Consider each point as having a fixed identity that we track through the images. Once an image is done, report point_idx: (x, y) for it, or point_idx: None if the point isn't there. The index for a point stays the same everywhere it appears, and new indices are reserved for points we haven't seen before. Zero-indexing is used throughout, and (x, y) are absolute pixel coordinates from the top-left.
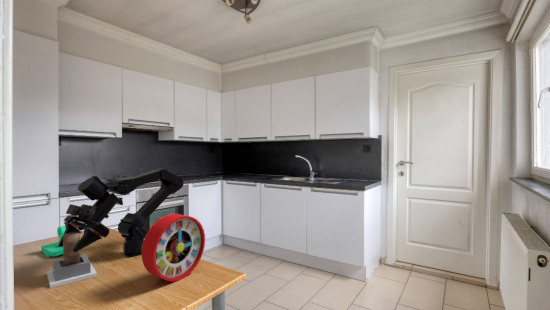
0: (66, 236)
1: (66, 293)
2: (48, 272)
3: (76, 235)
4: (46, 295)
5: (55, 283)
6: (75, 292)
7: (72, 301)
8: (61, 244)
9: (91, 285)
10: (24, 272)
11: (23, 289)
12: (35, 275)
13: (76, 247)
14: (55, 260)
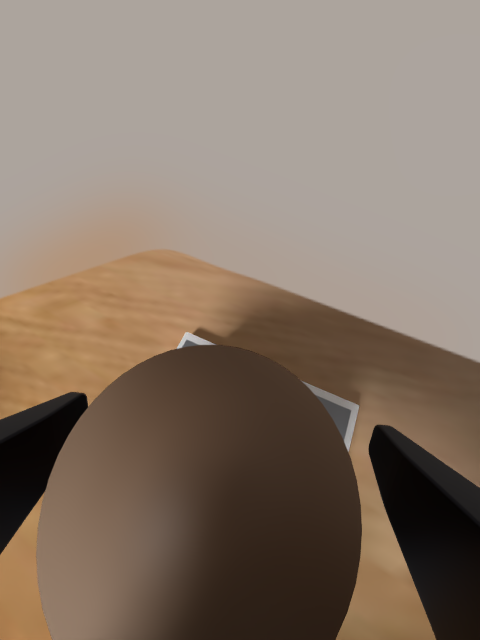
0: (159, 357)
1: (82, 340)
2: (335, 400)
3: (47, 510)
4: (144, 303)
5: (177, 348)
6: (52, 359)
7: (8, 316)
8: (380, 452)
9: None
10: (467, 374)
11: (271, 294)
12: (384, 378)
13: (31, 412)
14: (346, 423)
